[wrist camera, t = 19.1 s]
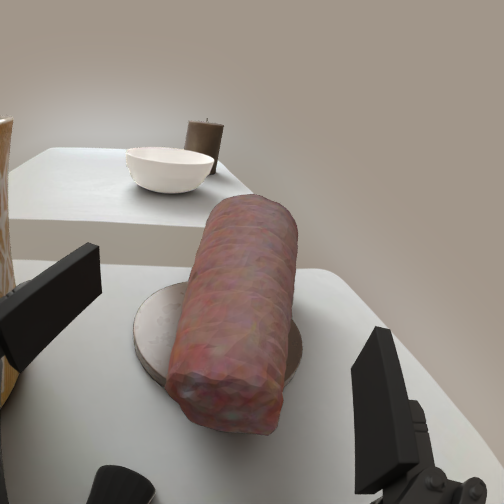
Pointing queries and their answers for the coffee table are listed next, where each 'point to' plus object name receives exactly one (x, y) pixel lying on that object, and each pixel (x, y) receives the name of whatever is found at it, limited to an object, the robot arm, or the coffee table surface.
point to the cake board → (165, 327)
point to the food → (237, 318)
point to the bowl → (168, 168)
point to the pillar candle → (204, 139)
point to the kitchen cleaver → (120, 487)
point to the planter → (5, 245)
